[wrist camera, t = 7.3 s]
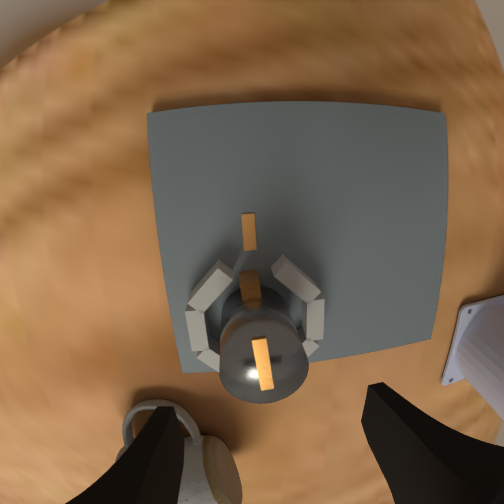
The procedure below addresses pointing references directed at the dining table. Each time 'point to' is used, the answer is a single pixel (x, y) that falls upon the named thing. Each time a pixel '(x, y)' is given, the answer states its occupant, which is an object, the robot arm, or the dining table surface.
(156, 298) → the dining table surface
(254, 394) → the knob
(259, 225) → the hub board
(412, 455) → the robot arm
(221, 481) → the ceramic mug
